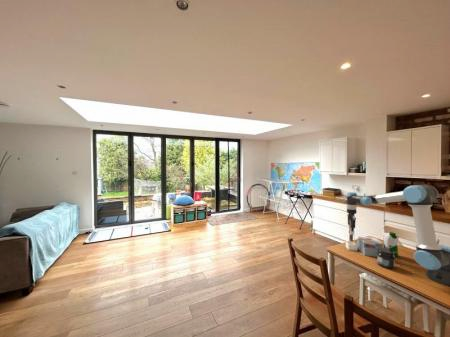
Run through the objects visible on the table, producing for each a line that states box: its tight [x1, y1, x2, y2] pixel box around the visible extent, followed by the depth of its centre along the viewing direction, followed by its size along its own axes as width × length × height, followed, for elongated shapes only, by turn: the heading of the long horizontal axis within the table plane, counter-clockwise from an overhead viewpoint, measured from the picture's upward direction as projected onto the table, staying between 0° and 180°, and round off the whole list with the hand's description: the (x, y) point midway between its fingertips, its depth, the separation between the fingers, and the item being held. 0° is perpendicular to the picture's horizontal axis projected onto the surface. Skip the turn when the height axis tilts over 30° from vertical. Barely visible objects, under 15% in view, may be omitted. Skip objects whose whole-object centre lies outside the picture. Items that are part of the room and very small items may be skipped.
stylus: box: [348, 220, 354, 242], centre depth 173 cm, size 3×3×20 cm
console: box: [356, 236, 384, 258], centre depth 165 cm, size 16×14×12 cm
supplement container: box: [376, 247, 396, 270], centre depth 143 cm, size 10×10×12 cm
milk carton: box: [382, 231, 400, 258], centre depth 161 cm, size 9×9×20 cm
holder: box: [345, 241, 358, 251], centre depth 173 cm, size 7×7×5 cm
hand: (351, 233), depth 173 cm, fingers closed on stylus, 3 cm apart
